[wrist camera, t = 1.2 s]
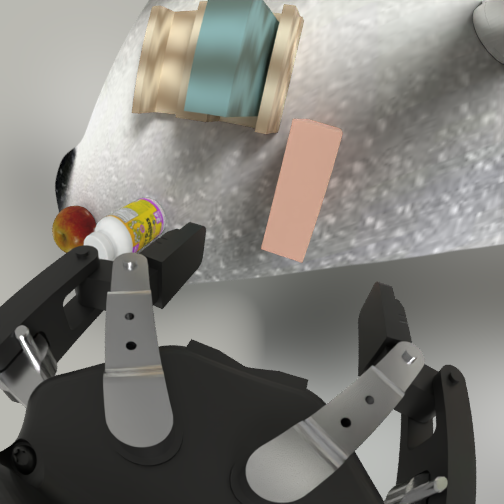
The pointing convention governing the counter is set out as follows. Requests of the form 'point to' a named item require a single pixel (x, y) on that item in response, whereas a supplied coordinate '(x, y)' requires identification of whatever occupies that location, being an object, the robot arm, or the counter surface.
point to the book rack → (219, 63)
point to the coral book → (301, 187)
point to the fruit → (72, 227)
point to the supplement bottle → (127, 229)
